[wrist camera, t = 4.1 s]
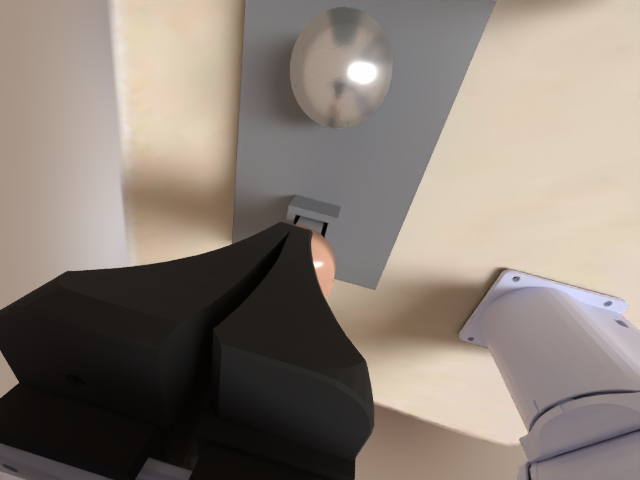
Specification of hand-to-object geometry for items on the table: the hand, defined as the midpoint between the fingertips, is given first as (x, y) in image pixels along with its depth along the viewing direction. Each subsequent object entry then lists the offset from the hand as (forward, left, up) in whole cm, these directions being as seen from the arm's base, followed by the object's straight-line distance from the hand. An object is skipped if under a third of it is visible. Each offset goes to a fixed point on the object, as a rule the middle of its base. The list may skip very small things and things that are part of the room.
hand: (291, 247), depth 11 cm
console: (0, -2, -10) cm, 10 cm away
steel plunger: (0, -6, -10) cm, 12 cm away
